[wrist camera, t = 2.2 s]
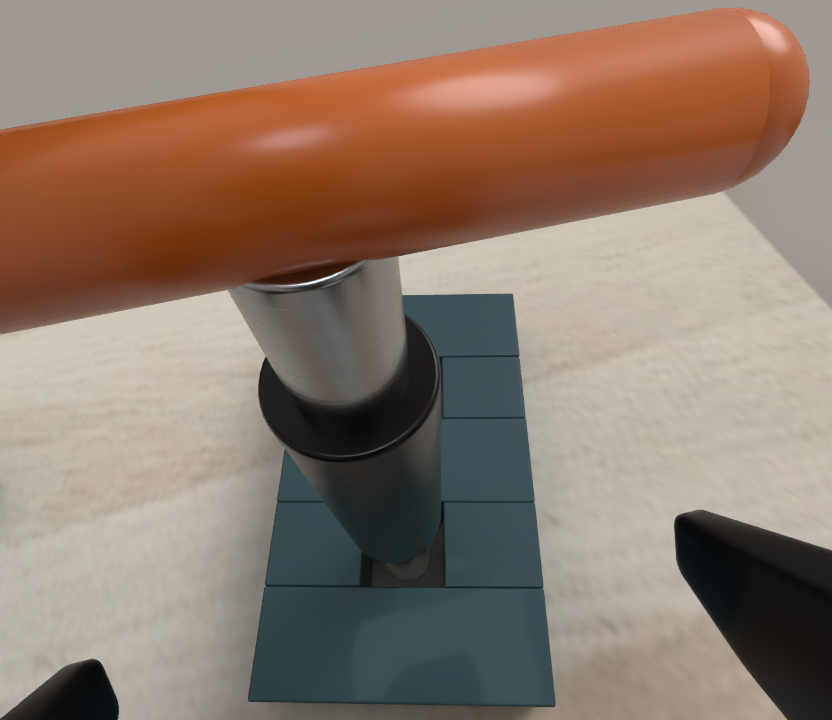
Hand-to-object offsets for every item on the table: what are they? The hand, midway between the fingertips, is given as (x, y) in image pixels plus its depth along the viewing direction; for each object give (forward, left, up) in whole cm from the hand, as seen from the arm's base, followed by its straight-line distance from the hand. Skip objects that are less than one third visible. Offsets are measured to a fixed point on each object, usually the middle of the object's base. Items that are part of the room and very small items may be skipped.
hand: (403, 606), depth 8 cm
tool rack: (+5, +1, -11) cm, 12 cm away
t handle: (+3, +1, -11) cm, 11 cm away
